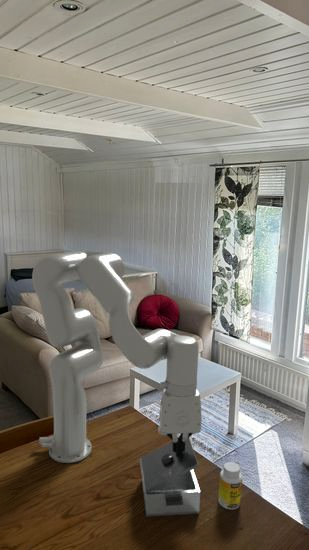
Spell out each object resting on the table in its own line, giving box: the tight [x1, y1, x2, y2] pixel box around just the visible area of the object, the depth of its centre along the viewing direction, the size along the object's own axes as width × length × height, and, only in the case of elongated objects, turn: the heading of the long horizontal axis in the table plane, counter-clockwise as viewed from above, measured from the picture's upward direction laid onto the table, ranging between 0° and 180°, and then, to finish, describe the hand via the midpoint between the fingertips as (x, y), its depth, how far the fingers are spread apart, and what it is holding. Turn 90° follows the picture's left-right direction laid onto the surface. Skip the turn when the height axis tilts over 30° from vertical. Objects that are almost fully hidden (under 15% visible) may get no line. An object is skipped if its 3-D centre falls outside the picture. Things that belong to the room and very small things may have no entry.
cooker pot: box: [141, 469, 201, 518], centre depth 106 cm, size 13×16×6 cm
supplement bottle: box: [217, 461, 243, 510], centre depth 104 cm, size 6×6×10 cm
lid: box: [139, 437, 200, 495], centre depth 104 cm, size 15×13×2 cm
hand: (178, 453), depth 104 cm, fingers closed
